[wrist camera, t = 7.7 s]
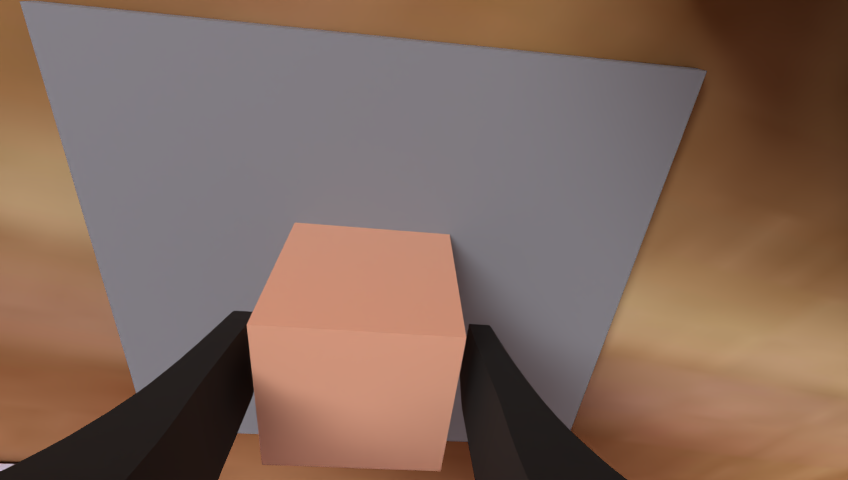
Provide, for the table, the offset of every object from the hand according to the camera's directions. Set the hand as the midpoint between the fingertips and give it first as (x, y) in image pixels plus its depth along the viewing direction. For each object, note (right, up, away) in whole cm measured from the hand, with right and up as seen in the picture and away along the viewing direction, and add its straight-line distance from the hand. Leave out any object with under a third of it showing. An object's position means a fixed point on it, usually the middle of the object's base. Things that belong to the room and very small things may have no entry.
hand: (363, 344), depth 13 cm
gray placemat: (0, +2, +3) cm, 3 cm away
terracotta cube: (0, +1, +3) cm, 3 cm away
